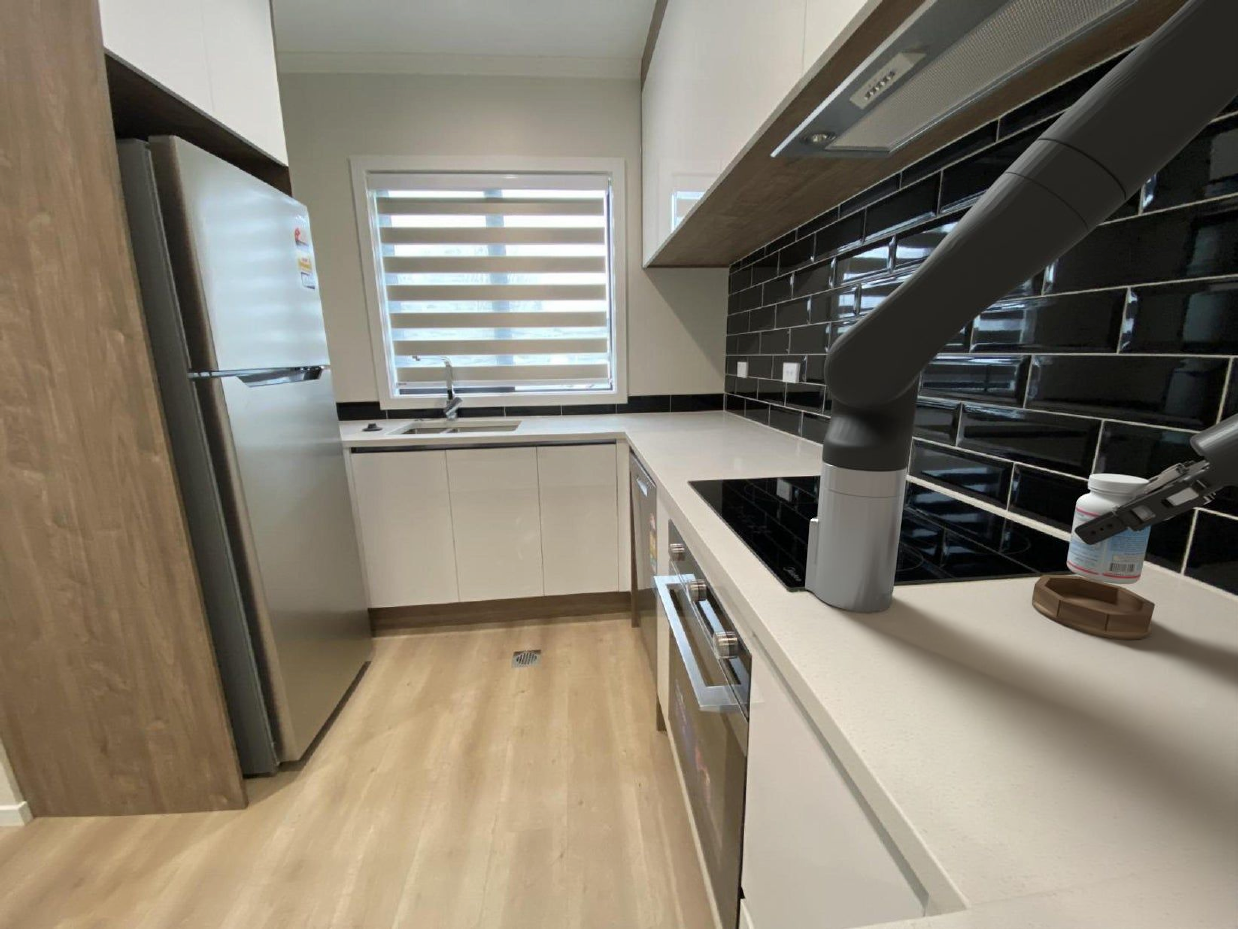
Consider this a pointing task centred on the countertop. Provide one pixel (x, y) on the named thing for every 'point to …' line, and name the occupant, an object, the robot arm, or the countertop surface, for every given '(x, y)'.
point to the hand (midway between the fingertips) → (1087, 530)
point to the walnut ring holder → (1093, 607)
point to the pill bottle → (1118, 553)
